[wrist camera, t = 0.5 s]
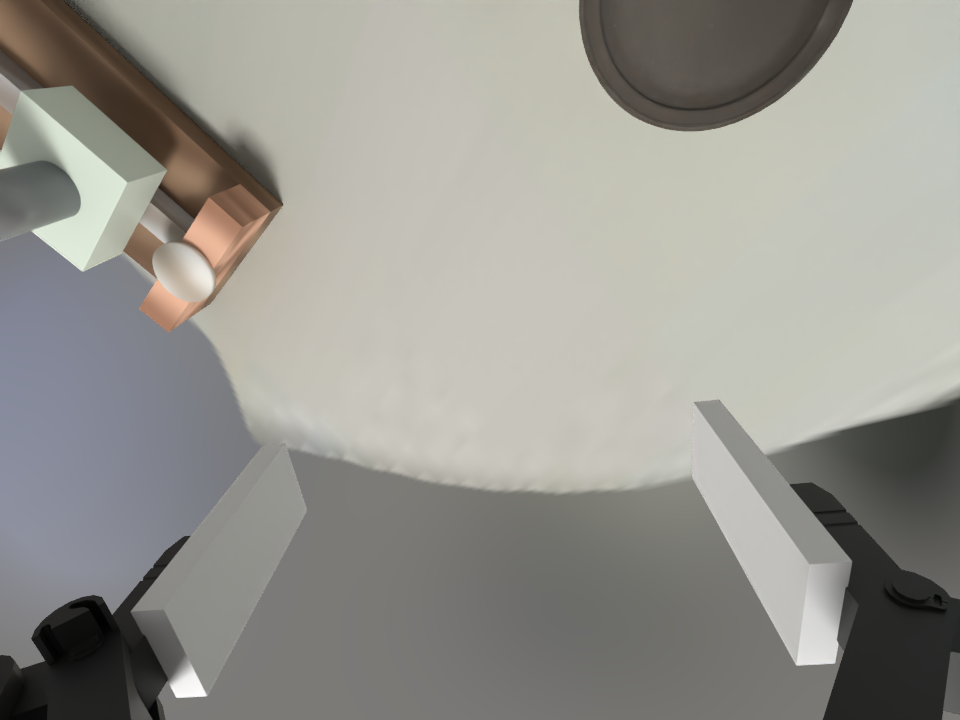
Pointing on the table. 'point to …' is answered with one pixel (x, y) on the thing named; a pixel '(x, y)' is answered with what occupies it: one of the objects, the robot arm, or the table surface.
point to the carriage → (73, 177)
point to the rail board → (159, 131)
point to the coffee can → (704, 54)
